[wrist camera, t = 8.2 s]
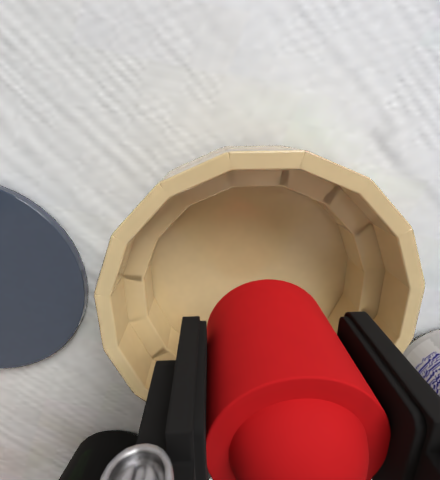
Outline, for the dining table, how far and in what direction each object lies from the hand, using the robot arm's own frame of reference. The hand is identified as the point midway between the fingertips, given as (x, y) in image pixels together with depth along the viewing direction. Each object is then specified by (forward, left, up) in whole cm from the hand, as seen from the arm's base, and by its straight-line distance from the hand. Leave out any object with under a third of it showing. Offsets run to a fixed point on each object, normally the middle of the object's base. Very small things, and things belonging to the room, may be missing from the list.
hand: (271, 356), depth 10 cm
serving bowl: (0, 0, -6) cm, 6 cm away
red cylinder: (0, 0, -1) cm, 1 cm away
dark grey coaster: (0, -13, -6) cm, 14 cm away
